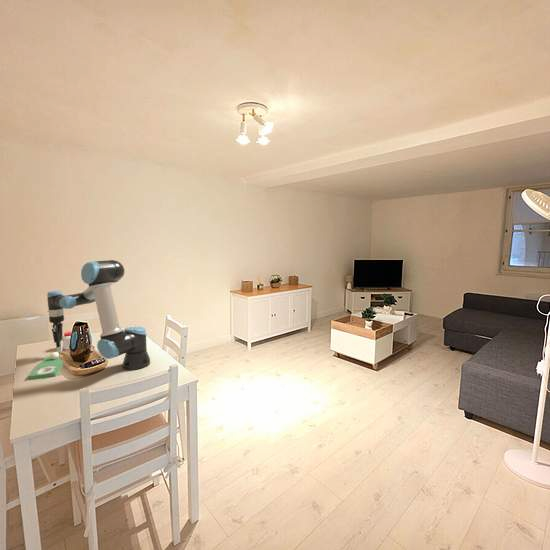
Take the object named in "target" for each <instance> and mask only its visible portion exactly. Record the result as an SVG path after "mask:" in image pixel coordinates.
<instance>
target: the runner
mask: <svg viewBox="0 0 550 550" xmlns="http://www.w3.org/2000/svg"><path fill="white" fill-rule="evenodd" d="M62 366H63V367H64V365H63V362H62V360H61V359H60V357H58V358H57V359H51V357H50V356H49V355H48V356H46V357H45V358H44V359H43V360H42V361H41V362H40V363H39V365H37V367H36V368H34V370H33V371H32V372H30V373H29V375H28V380H29V381H31V380H38V379H43V378H45V379H47V378H52V377H54V378H55V377H56V376H57V374H59V372H60V371H61V369H62V368H63V367H62Z"/></svg>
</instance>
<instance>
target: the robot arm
mask: <svg viewBox="0 0 550 550" xmlns="http://www.w3.org/2000/svg"><path fill="white" fill-rule="evenodd" d="M80 275H81V280H82V281H83V283H85V284H86V285H88V287H87V288H86V289H85V290H84V291H83V292H81V293H74V294H73V293H72V294H69V295H63V292H62V291H61V290H51V291H48V292H47V295H46V296H47V308H48V310H47V312H48V316H49V317H48V321H49V323H51V324H52V328H51V332H52V336H53V343H55V348H56V351H55V352H58V353H60V352H62V351H63V339H62V337H63V325H64V324H63V323H62V322H63V321H65V315H64V313H65V312H64V309H65V310H68V309H73V308H74V307H79V306H83V305H89V304H92V303H95V304H96V308H97V315H98V318H99V321H100V327H101V330H102V331H101V332H102V333H101V334H100V339H99V340H98V341H97V344H96V345H97V347H96V348H97V351H98V353H99V354H100V355H101V356H102V358H105V359H114V358H117V357H119V356H121V355H124V354H125V355H124V357H123V361H122V368H123V369H125V370H128V371H133V370H134V371H135V370H142V369H144V368H146V367H148V366H150V364H151V358H150V356H149V353H148V350H147V330H146V328H144V327H142V326H128V327H125V328H124V329H122V328H121V327H120V323H119V319H118V314H117V310H116V305H115V302H114V297H113V292H112V288H111V286H113V284H114V283H118V282H119V281H120V280H121V279H122V278H123V277H124V275H125V267H124V264H122V263H121V262H119V261H118V260H114V259H109V260H93V261H88V262H86V263H85V264H84V265H83V266H82V268H81V272H80Z"/></svg>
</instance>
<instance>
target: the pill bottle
mask: <svg viewBox="0 0 550 550" xmlns="http://www.w3.org/2000/svg"><path fill="white" fill-rule="evenodd" d="M71 332H72V331H66V332H64V333H63V335H62V339H63V340H62V350H63V349H68V348H69V342H70V336H71Z"/></svg>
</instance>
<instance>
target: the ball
mask: <svg viewBox="0 0 550 550" xmlns="http://www.w3.org/2000/svg"><path fill="white" fill-rule="evenodd" d="M59 355H60V352H56V351H54V352H51V354H50V357H51V359H57V358H58V357H59Z"/></svg>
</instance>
